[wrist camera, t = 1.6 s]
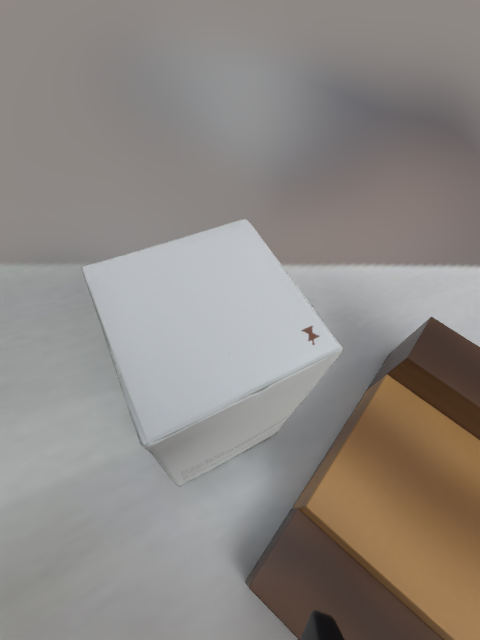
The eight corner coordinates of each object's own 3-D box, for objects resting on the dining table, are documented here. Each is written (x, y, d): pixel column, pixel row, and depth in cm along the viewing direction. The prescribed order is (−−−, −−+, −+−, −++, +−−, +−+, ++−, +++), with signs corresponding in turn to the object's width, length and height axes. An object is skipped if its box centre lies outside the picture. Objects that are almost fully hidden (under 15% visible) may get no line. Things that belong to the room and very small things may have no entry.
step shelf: (454, 798, 15) (574, 929, 10) (244, 582, 18) (261, 604, 13) (542, 457, 23) (628, 441, 18) (390, 352, 26) (431, 316, 22)
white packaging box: (229, 344, 25) (251, 212, 14) (278, 434, 22) (354, 351, 11) (134, 383, 23) (75, 260, 12) (174, 491, 20) (142, 453, 9)
